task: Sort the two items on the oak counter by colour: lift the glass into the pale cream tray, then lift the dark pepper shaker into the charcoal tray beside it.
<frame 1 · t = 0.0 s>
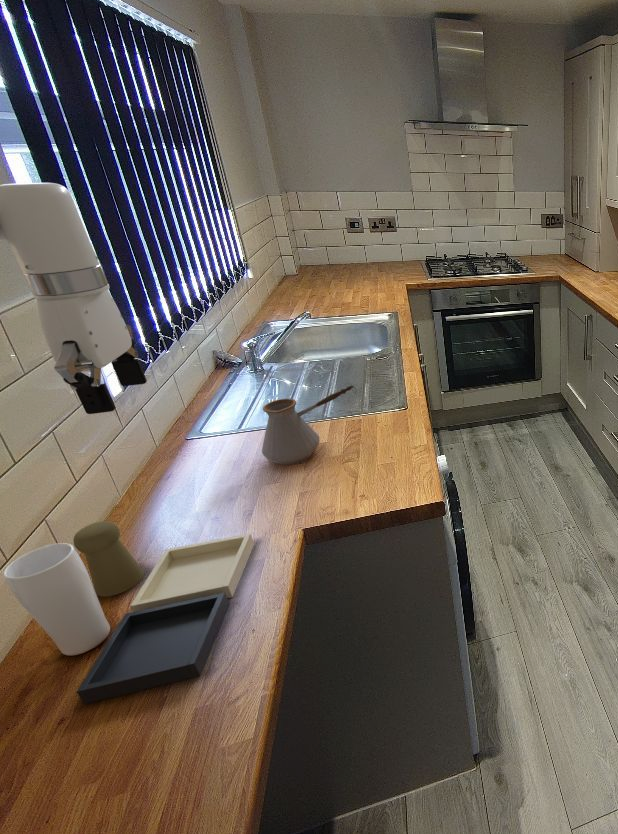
hand: (119, 397, 77), 30 cm above the countertop, tool pointing down, fingers open, 9 cm apart
cream tray: (200, 577, 85), on the countertop
coffee pot: (318, 452, 121), on the countertop
charcoal tray: (164, 649, 73), on the countertop
pepper shaker: (121, 583, 84), on the countertop
drinking glass: (88, 642, 74), on the countertop
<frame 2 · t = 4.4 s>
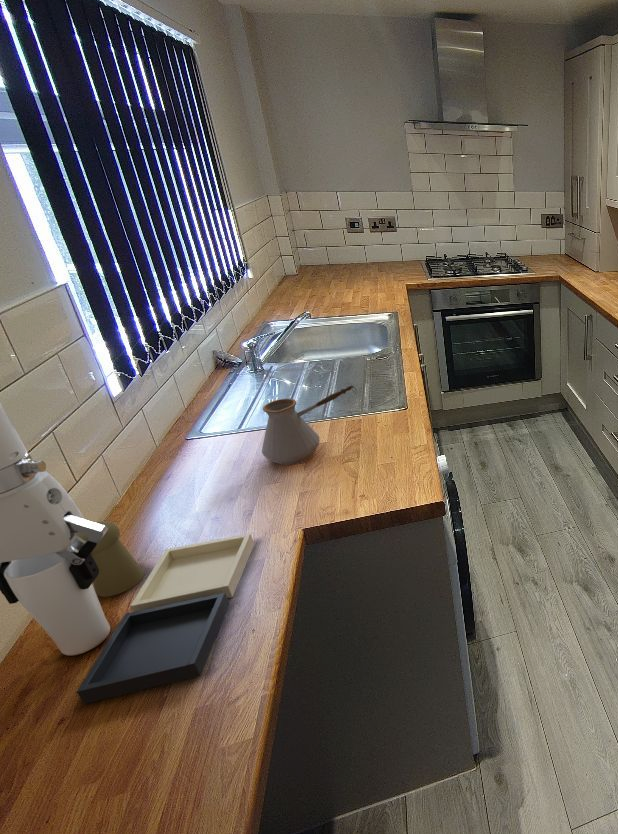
hand: (56, 587, 70), 10 cm above the countertop, tool pointing down, fingers closed on drinking glass, 6 cm apart
drinking glass: (88, 642, 74), on the countertop, touching gripper
everything else where it was.
when the fingers open (11 cm above the countertop, at t = 11.8 s): drinking glass stays where it is, resting on cream tray.
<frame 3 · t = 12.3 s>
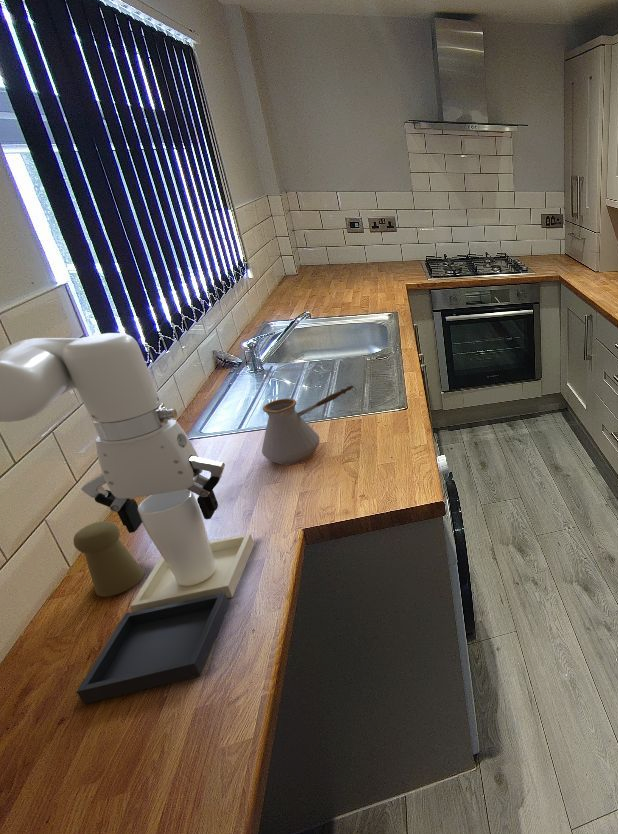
hand: (174, 520, 80), 12 cm above the countertop, tool pointing down, fingers open, 9 cm apart
drinking glass: (198, 576, 85), resting on cream tray
everything else where it was.
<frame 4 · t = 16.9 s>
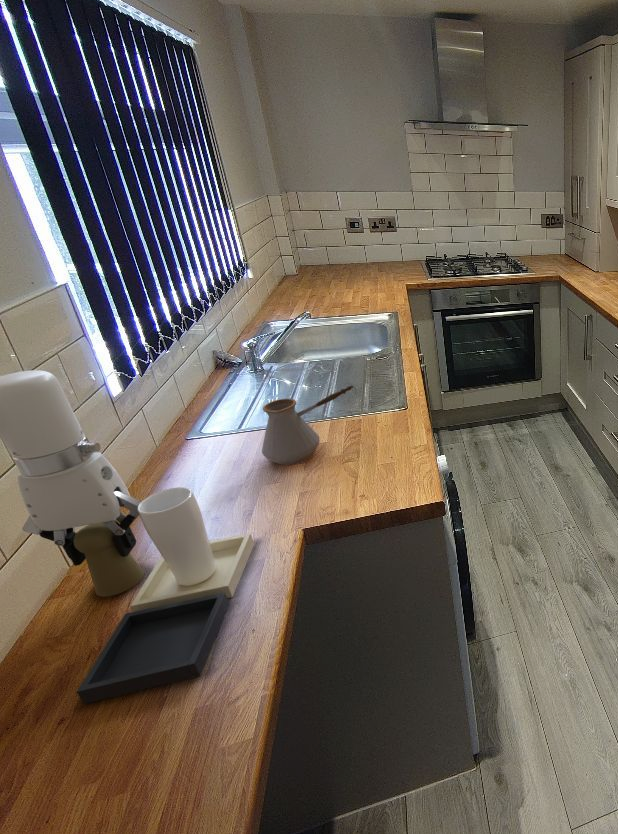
hand: (105, 554, 82), 6 cm above the countertop, tool pointing down, fingers closed on pepper shaker, 5 cm apart
pepper shaker: (121, 583, 84), on the countertop, touching gripper
everything else where it was.
when the fingers open (6 cm above the countertop, at t = 24.4 s): pepper shaker stays where it is, resting on charcoal tray.
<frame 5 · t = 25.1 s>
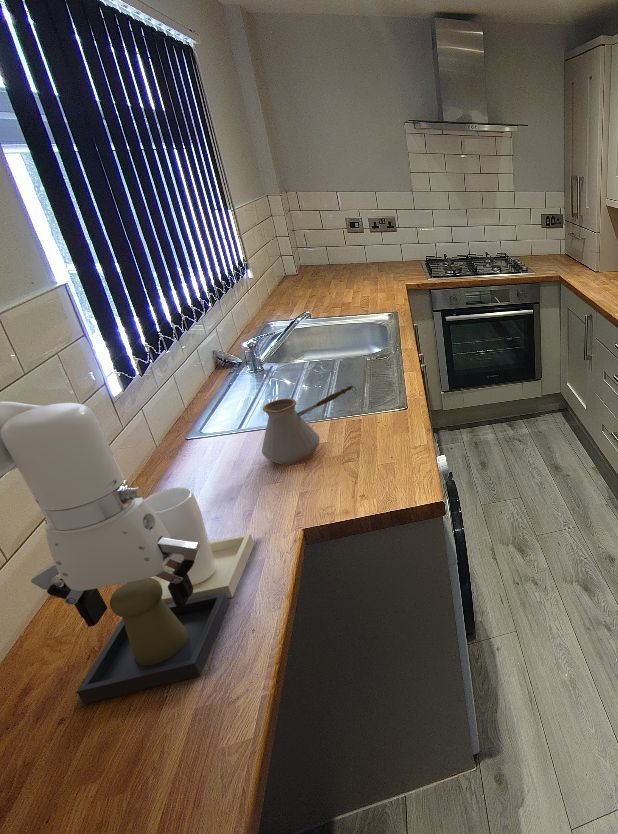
hand: (142, 608, 70), 8 cm above the countertop, tool pointing down, fingers open, 9 cm apart
pepper shaker: (162, 647, 73), resting on charcoal tray
everything else where it was.
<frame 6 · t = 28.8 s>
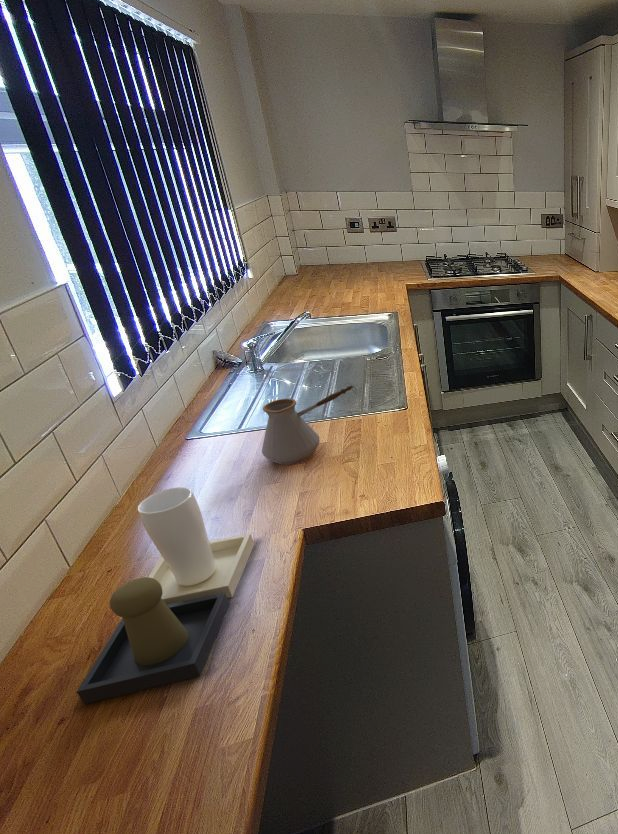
nothing on the countertop moved.
at the end: drinking glass inside the target area in the cream tray (0.1 cm from its centre), point 0.4 cm above the cream tray's base; pepper shaker inside the target area in the charcoal tray (0.1 cm from its centre), point 0.4 cm above the charcoal tray's base; drinking glass tilted 0° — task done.
